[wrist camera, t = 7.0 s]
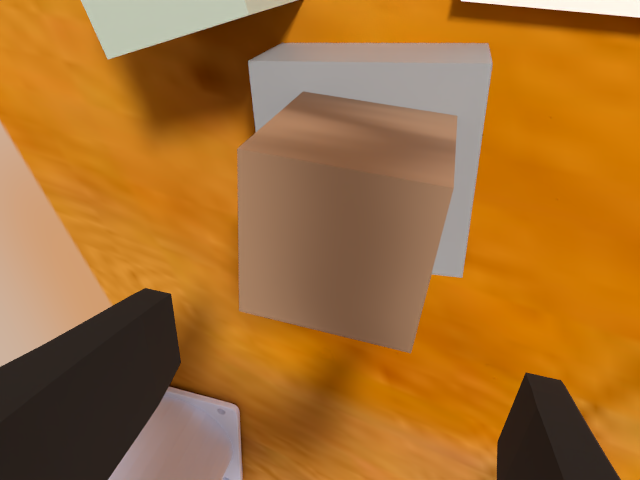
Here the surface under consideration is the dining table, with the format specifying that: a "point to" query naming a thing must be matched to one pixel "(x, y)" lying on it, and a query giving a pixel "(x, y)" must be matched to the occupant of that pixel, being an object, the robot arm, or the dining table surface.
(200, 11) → the grey-green block
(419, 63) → the slate plinth
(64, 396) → the robot arm
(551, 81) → the dining table surface
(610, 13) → the plaque
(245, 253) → the walnut block
